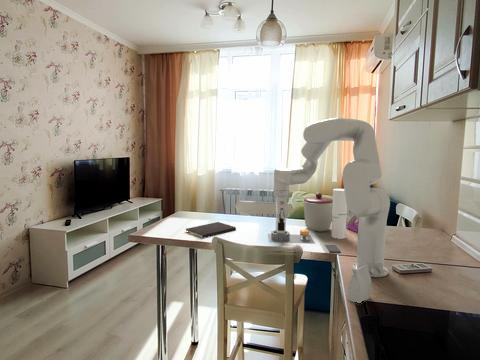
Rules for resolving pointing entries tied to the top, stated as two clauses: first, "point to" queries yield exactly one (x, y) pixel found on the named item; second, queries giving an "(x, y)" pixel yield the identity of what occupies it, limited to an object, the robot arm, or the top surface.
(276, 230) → the cylinder
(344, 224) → the cylindrical container
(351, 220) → the candy bar box
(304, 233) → the plunger
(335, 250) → the mat
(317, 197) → the canister
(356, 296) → the white doll dress
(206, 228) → the hardcover book
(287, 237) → the plate
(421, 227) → the top surface
